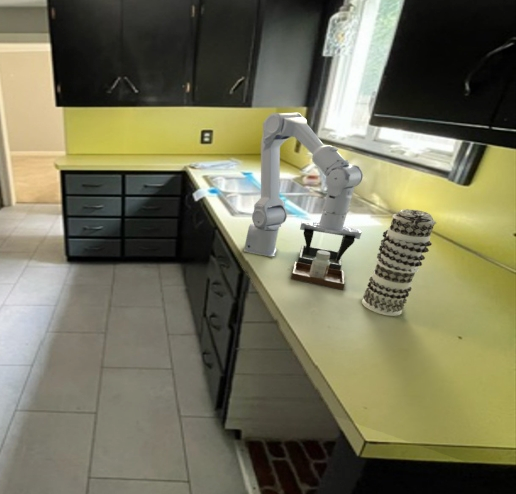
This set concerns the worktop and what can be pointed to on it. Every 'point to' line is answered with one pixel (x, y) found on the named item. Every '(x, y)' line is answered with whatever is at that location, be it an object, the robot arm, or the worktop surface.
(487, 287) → the worktop surface
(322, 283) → the tray
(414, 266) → the decorative candle
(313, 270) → the pill bottle
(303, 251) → the dark grey square frame
